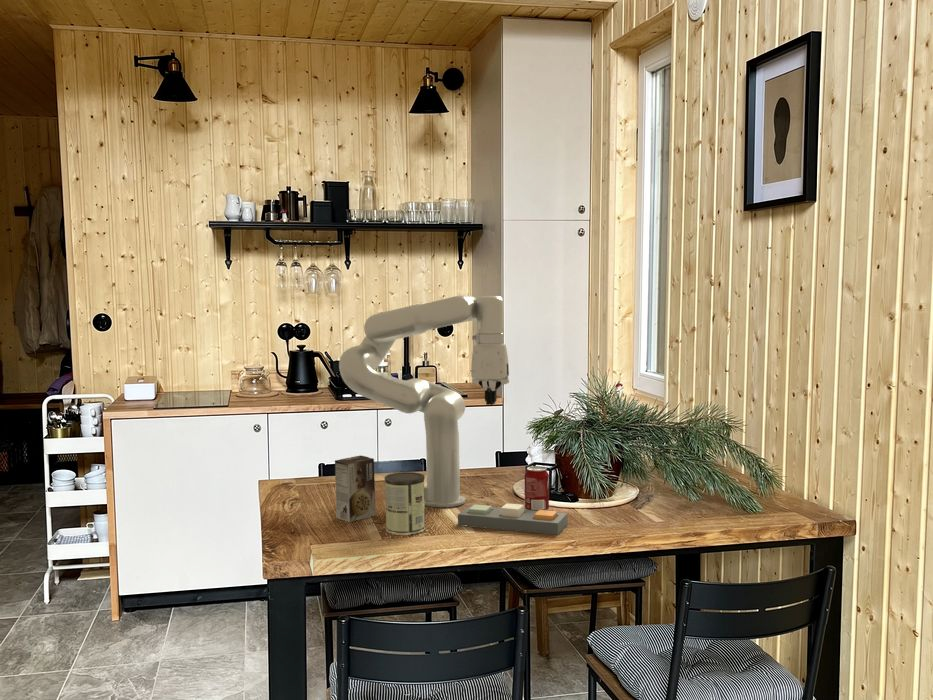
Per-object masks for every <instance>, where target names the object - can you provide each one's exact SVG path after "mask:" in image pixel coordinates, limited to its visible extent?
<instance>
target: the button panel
mask: <svg viewBox="0 0 933 700" xmlns="http://www.w3.org/2000/svg"><path fill="white" fill-rule="evenodd" d="M474 505H475V504H473V505H471V504H470V505H469V506H467V507H466V508H464V509H463V510H461V511H460V512H459V513H457V526H458V525H467V526H466V527H468V526H476V527H475V528H479V527H486V528H485V529H489V528H495V529H494V530H500V529H504V531H511V530H517V531H516V532H521V531H525V532H524V533H532V532H536V533H535V534H543V533H548V534H547V535H553V534H555V535H557V536H559V534H560V533H561V532H562V531H563V530H564V529H565V528H566V527H567V526H568V512H567V513H566V512H558V511H557V517H556V518H555V520H543V519H534V514H535V513H537V512H538V511H535V510H526V509H524V514H523V515H522V516H521V517H509V516H501V507H499V506H492V511H491V512H489V513H488V514H487V515H486V514H475V513H469V508H471V507H472V506H474ZM566 525H567V526H566ZM565 526H566V527H565ZM561 530H562V531H561ZM560 531H561V532H560Z"/></svg>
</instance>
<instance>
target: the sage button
mask: <svg viewBox="0 0 933 700" xmlns="http://www.w3.org/2000/svg"><path fill="white" fill-rule="evenodd" d="M473 505H474V506H472V507H471V508H469V513H475V514H486V515H487V514H488V513H489V512H491V511H492V507H493V505H485V504H473Z"/></svg>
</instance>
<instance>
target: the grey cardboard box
mask: <svg viewBox="0 0 933 700" xmlns="http://www.w3.org/2000/svg"><path fill="white" fill-rule="evenodd" d="M334 476H335V477H334V478H335V480H334V481H335V482H334V483H335V507H336V509H335V510H336V516H335V517H336V519H338V520H342V521H344V520H345V522H347V521H348V523H353V522H356V520H357V521H360V520H363V519H367V517H368V518H371V516H372V517H375V516H376V515H377V513H376V486H375V485H376V482H375V459H374V458H372V457H368V456H365V455H355V456H351V457H346V458H341V459H336V460H334Z"/></svg>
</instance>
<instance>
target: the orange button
mask: <svg viewBox="0 0 933 700" xmlns="http://www.w3.org/2000/svg"><path fill="white" fill-rule="evenodd" d="M557 512H558V510H557V511H556V510H539V511H538V512H537V513H535V514H534V519H543V520H555V518H556V517H557Z"/></svg>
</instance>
